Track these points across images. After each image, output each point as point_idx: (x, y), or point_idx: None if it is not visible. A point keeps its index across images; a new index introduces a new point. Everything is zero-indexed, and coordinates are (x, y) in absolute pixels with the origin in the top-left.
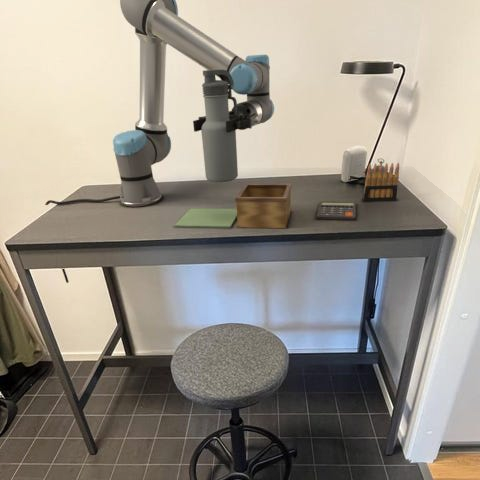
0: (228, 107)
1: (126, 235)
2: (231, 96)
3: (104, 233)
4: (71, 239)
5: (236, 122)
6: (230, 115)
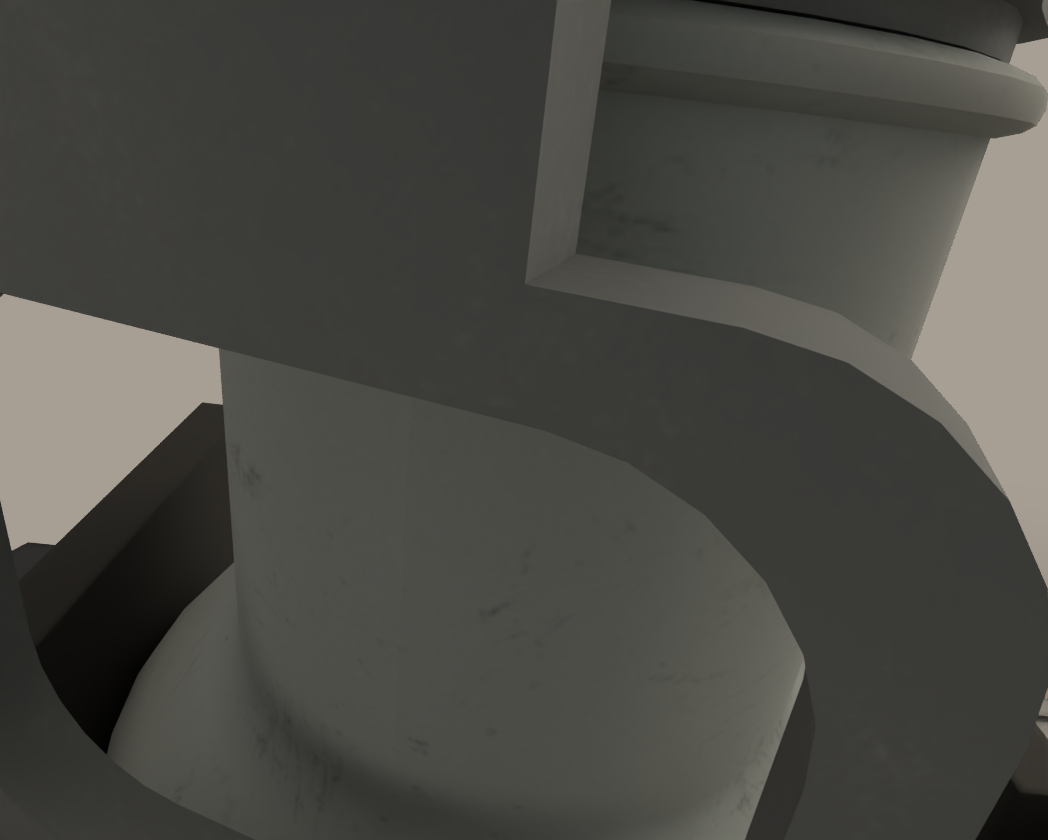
0: (223, 405)
1: None
2: (5, 141)
3: None
4: None
5: (46, 544)
6: (225, 831)
